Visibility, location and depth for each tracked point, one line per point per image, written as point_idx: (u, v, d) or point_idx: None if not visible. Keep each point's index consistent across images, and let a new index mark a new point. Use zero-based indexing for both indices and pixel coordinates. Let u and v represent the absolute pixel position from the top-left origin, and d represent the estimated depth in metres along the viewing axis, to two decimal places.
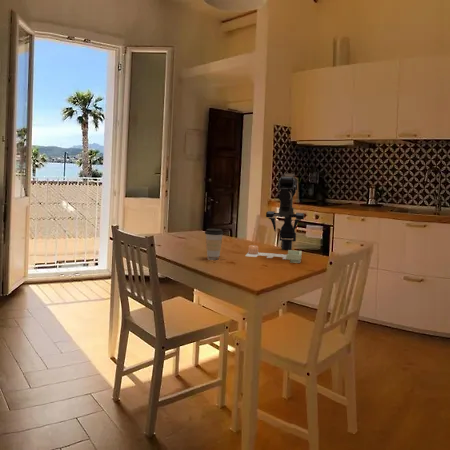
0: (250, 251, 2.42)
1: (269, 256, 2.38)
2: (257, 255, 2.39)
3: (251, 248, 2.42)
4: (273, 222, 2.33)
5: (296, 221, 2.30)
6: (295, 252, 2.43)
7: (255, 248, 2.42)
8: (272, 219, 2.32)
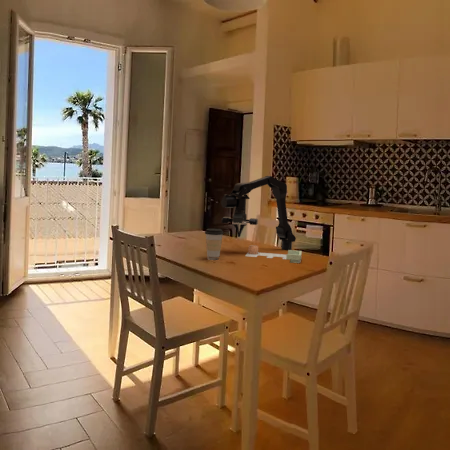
0: (250, 251, 2.42)
1: (269, 256, 2.38)
2: (257, 255, 2.39)
3: (251, 248, 2.42)
4: (236, 228, 2.43)
5: (241, 226, 2.42)
6: (295, 252, 2.43)
7: (255, 248, 2.42)
8: (235, 225, 2.42)
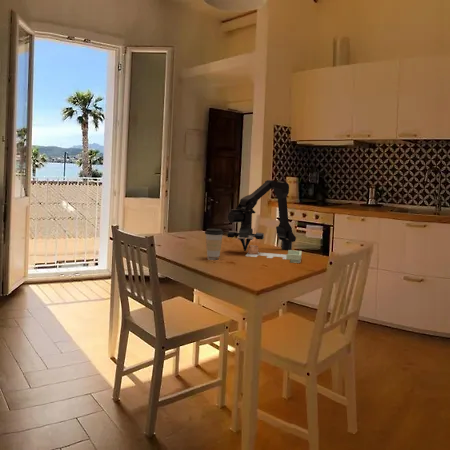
0: (250, 251, 2.42)
1: (269, 256, 2.38)
2: (257, 255, 2.39)
3: (251, 248, 2.42)
4: (242, 242, 2.44)
5: (247, 240, 2.42)
6: (295, 252, 2.43)
7: (255, 248, 2.42)
8: (241, 239, 2.42)
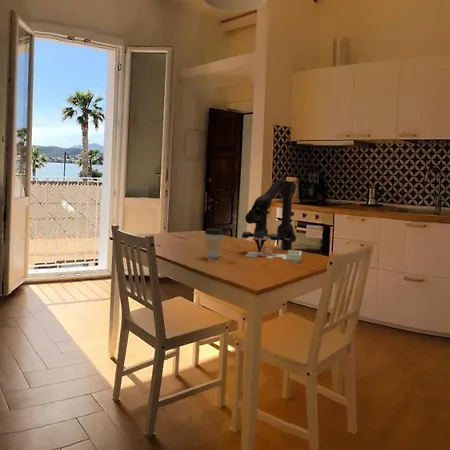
0: (265, 252, 2.41)
1: (269, 256, 2.38)
2: (257, 255, 2.39)
3: (266, 249, 2.40)
4: (257, 243, 2.42)
5: (262, 241, 2.40)
6: (295, 252, 2.43)
7: (270, 249, 2.40)
8: (256, 240, 2.41)
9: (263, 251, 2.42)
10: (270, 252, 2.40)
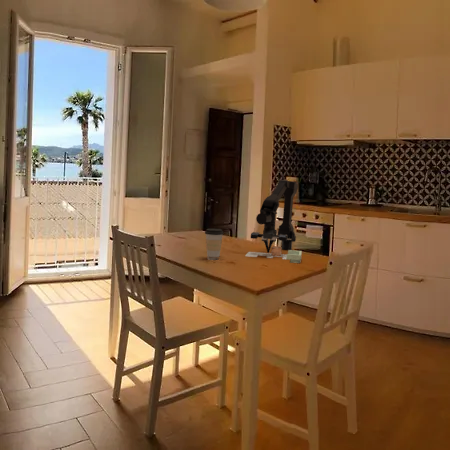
0: (273, 253, 2.40)
1: (269, 256, 2.38)
2: (257, 255, 2.39)
3: (274, 250, 2.39)
4: (266, 243, 2.41)
5: (271, 242, 2.40)
6: (295, 252, 2.43)
7: (278, 250, 2.39)
8: (265, 241, 2.40)
9: None
10: (279, 253, 2.39)
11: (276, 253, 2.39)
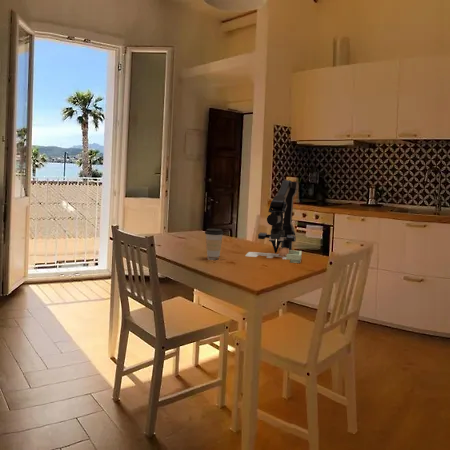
0: (281, 253, 2.39)
1: (269, 256, 2.38)
2: (257, 255, 2.39)
3: (282, 250, 2.38)
4: (273, 244, 2.40)
5: (278, 242, 2.39)
6: (295, 252, 2.43)
7: (286, 250, 2.38)
8: (272, 241, 2.39)
9: (279, 252, 2.40)
10: (286, 253, 2.39)
11: (284, 254, 2.38)
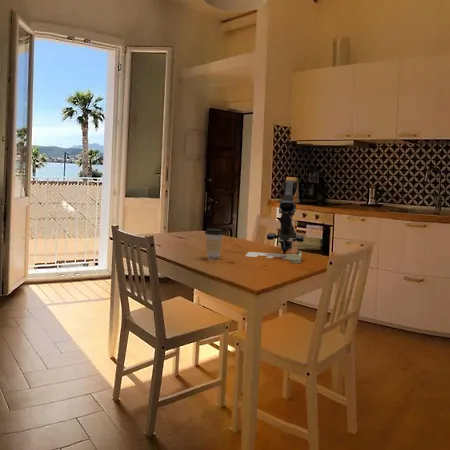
0: None
1: (269, 256, 2.38)
2: (257, 255, 2.39)
3: (291, 251, 2.38)
4: (282, 245, 2.39)
5: (287, 243, 2.38)
6: None
7: (295, 251, 2.37)
8: (281, 242, 2.38)
9: (288, 253, 2.39)
10: (295, 254, 2.38)
11: None
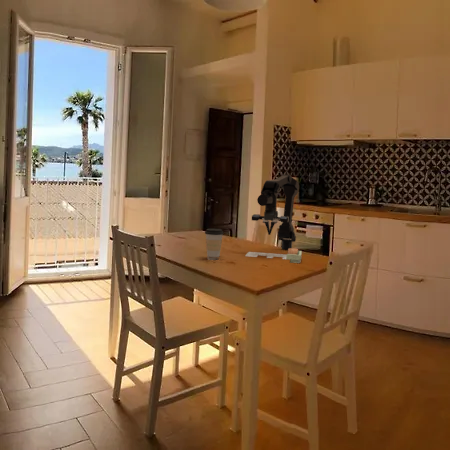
0: None
1: (269, 256, 2.38)
2: (257, 255, 2.39)
3: (291, 251, 2.38)
4: (267, 225, 2.40)
5: (272, 224, 2.38)
6: None
7: (295, 251, 2.37)
8: (266, 223, 2.39)
9: (288, 253, 2.39)
10: (295, 254, 2.38)
11: None
